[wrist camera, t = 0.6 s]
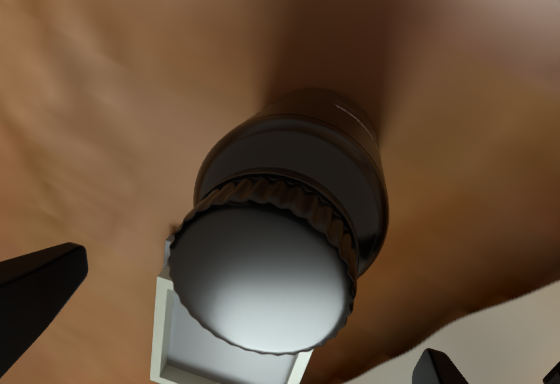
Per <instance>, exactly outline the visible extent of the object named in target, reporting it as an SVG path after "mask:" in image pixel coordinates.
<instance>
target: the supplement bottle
mask: <svg viewBox="0 0 560 384" xmlns="http://www.w3.org/2000/svg"><path fill="white" fill-rule="evenodd" d="M193 207H194V208H193V209H192V210H191V211H190V212H189V213H188V214H187V215H186V217H185V218H184V220H183V223H182V224H181V225H180V226H179V227H178V228H177V229H176V231H175V233H174V240H173V241H172V242H171V244H170V246H169V249H170V256H169V258H168V260H167V261H168V264H169V267H170V271H169V277H170V278H171V280H172V282H173V290H174V291H175V292H176V293H177V295H178V296H179V299H180V303H181V304H182V305H183V306H184V307H185V308H186V309H187V310H188V312H189V314H190V316H191V317H192V318H194V319H195V320H197V321H198V322H199V324H200V325H201V327H202V328H204V329H206V330H208V331H210V332H211V333H212V335H213V336H215V337H216V338H219V339H222V340H224V341H225V342H226V343H228V344H229V345H231V346H236V347H239V348H241V349H243V350H245V351H252V352H256V353H258V354H261V355H266V354H271V355H275V356H282V355H285V354H286V355H296V354H298V353H300V352H310V351H311V350H313V349H314V348H315V347H320V346H324V345H325V343H326V342H327V340H329V339H332V338H335V337H336V335H337V333H338V330H340V329H341V328H343V327H344V326H345V325H346V322H347V317H348V316H349V315H350V314H351V313H352V311H353V306H354V298H355V296H356V292H357V279H358V278H359V277H360V276H362V275H363V274H364V273H365V272H366V271H367V270H368V268H369V267H370V266H371V265H372V263H373V262H374V261H375V259H376V258H377V256H378V254H379V253H380V251H381V249H382V246H383V244H384V241H385V238H386V234H387V230H388V224H389V203H388V195H387V189H386V184H385V179H384V173H383V168H382V163H381V158H380V152H379V147H378V142H377V138H376V134H375V131H374V128H373V126H372V124H371V122H370V120H369V118H368V117H367V115H366V114H365V112H364V111H363V110H362V109H361V108H360V107H359V106H358V105H357V104H356V103H355V102H354V101H352V100H351V99H349V98H348V97H346V96H344V95H342V94H340V93H338V92H335V91H332V90H328V89H321V88H308V89H302V90H298V91H294V92H292V93H289V94H287V95H285V96H283V97H281V98H280V99H278V100H276V101H275V102H273V103H272V104H270V105H269V106H267V107H266V108H264V109H263V110H261V111H260V112H258V113H257V114H255V115H254V116H252V117H251V118H249V119H248V120H246V121H245V122H243V123H242V124H240V125H239V126H237V127H236V128H234V129H233V130H231V131H230V132H229V133H228V134H226V135H225V136H224V137H223V138H222V139H221V140H219V141H218V142H217V144H216V145H215V146H214V147H213V148H212V149H211V150H210V152H209V153H208V154H207V156H206V158H205V159H204V161H203V163H202V165H201V167H200V169H199V172H198V175H197V178H196V182H195V187H194V196H193Z"/></svg>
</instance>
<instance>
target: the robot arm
mask: <svg viewBox="0 0 560 384" xmlns="http://www.w3.org/2000/svg"><path fill="white" fill-rule="evenodd" d="M87 273H88V262H87V253H86V249H85V247H84V246H82V245H79V244H76V243H72V242H67V243H64V244H60V245H57V246H53V247H50V248H46V249H43V250H40V251H36V252H33V253H29V254H26V255H22V256H19V257H15V258H12V259H9V260H5V261H2V262H0V378H1V377H2V376H3V375H4V374H5V373H6V372H7V371H8V370H9V368H10V367H11V366H12V365H13V364H14V363H15V362H16V361H17V360H18V359H19V358H20V357H21V356H22V354H23V353H24V352H25V351H26V350H27V349H28V348H29V347H30V346H31V345H32V344H33V343H34V341H35V340H36V339H37V338H38V337H39V336H40V335H41V334H42V333H43V332H44V330H45V329H46V328H47V327H48V326H49V324H50V323H51V322H52V321H53V320H54V318H55V317H56V316H57V314H58V313H59V312H60V311H61V309H62V308H63V307H64V305H65V304H66V303H67V301H68V300H69V299H70V298H71V296H72V295H73V294H74V292H75V291H76V290H77V289H78V287H79V286H80V285H81V283H82V282H83V281H84V279H85V278H86V276H87ZM543 383H544V384H560V362H559V363H558V364H557V365H556V366H555V367H554V368H553V369H552V370H551V371H550V372H549V373H548V374H547V375H546V376H545V377H544V379H543ZM412 384H468V382H467V381H466V380H465V378H464V377H463V376H462V374H461V373H460V372H459V371H458V369H457V368H456V366H455V365H454V364H453V362H452V361H451V360H450V359H449V357H448V356H447V355H446V354H445V353H443V352H441V351H437V350H434V349H431V348H427V349H425V350H424V352H423V353H422V356H421V357H420V359H419V361H418V363H417V365H416V366H415V368H414V371H413V376H412Z"/></svg>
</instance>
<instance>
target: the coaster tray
mask: <svg viewBox="0 0 560 384" xmlns="http://www.w3.org/2000/svg"><path fill="white" fill-rule="evenodd" d="M173 240H174V235H172V234H171V235H170V236H169V237H168V238H167V239H166V242H165V255H164V267H163V270H162V271H161V273H160V274H159V275H158V276H157V288H156V302H155V317H154V331H153V345H152V359H151V373H150V380H152V381H154V382H157V383H160V384H299V383H300V381H301V378H302V376H303V373H304V371H305V368H306V366H307V363H308V361H309V358H310V356H311V354H312V351H313V350H311V351H310V352H300V353H298V354H296V355H286V354H285V355H282V356H275V355H271V354H266V355H261V354H258V353H256V352H252V351H245V350H243V349H241V348H239V347H236V346H231V345H229V344H228V343H226V342H225V341H224V340H222V339H219V338H216V337H215V336H213V335H212V333H211V332H210V331H208V330H206V329H204V328H202V327H201V325H200V324H199V322H198V321H197V320H195V319H194V318H192V317H191V316H190V314H189V312H188V310H187V309H186V308H185V307H184V306H183V305H182V304H181V303H180V299H179V296H178V295H177V293H176V292H175V291H174V290H173V282H172V280H171V278H170V277H169V271H170V267H169V264H168V261H167V260H168V258H169V256H170V249H169V246H170V244H171V242H172V241H173Z"/></svg>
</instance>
